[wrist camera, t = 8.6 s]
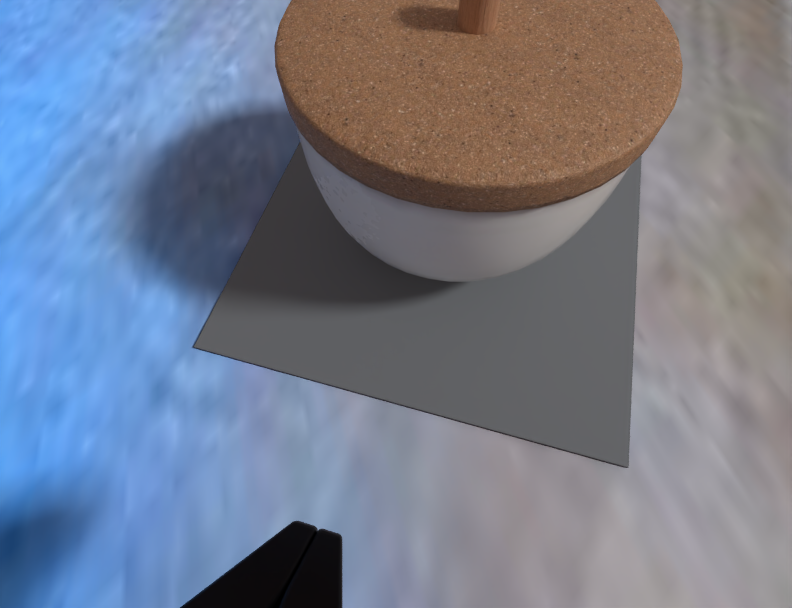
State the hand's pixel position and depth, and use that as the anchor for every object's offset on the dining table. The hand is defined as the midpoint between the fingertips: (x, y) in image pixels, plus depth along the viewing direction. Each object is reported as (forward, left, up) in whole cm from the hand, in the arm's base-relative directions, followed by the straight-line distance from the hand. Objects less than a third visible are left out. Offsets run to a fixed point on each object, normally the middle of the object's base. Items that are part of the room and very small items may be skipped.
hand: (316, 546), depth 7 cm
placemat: (+12, +7, -9) cm, 17 cm away
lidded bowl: (+12, +8, -9) cm, 17 cm away
